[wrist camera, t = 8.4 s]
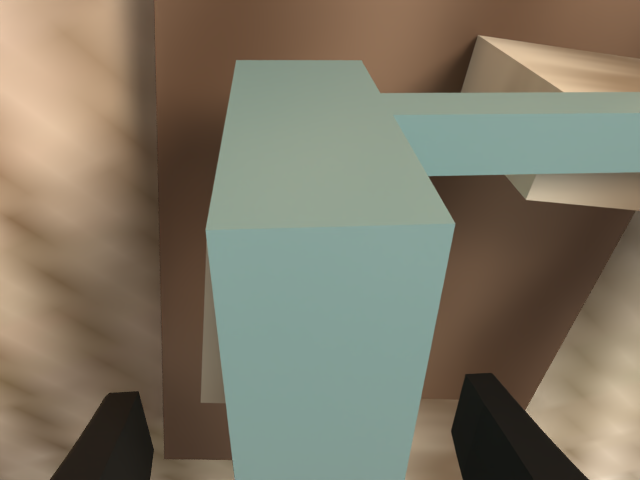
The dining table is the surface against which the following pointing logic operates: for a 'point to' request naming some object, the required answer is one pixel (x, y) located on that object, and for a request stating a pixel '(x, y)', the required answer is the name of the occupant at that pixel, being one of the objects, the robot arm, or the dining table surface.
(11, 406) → the dining table surface
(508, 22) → the display stand
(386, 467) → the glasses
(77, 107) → the dining table surface
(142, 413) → the robot arm
